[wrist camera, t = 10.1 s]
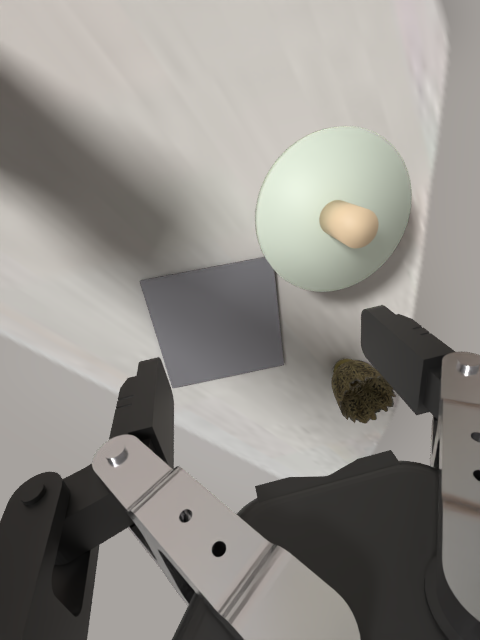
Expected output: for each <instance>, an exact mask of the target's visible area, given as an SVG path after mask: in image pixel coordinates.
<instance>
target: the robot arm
mask: <svg viewBox="0 0 480 640" xmlns="http://www.w3.org/2000/svg"><path fill="white" fill-rule="evenodd" d="M361 347H362V350H363V353H364V355H365V357H366V358H367V359H368V360H369V362H370V363H371V364H372V365H373V366H374V367H375V368H376V369H377V371H378V372H379V373H380V374H381V375H382V376H383V377H384V379H385V380H386V381H387V382H388V383H389V384H390V385H391V387H392V388H393V389H394V390H395V391H396V392H397V393H398V395H399V396H400V397H401V398H402V399H403V400H404V401H405V402H406V404H407V405H408V406H409V407H410V408H411V409H412V411H413V412H415V414H416V415H419V414H423V413H426V412H431V413H432V415H433V420H432V435H431V454H430V466H428V465H424V464H421V463H416V462H410V461H398V460H397V458H396V457H395V455H394V454H393V452H392V451H391V450H390V451H386V452H382V453H379V454H375V455H371V456H367V457H363V458H360V459H357V460H355V461H354V462H352V463H350V464H348V465H347V466H345V467H343V468H341V469H340V470H338V471H336V472H335V473H333V474H331V475H329V476H323V477H288V478H284V479H281V480H277V481H274V482H269V483H266V484H262V485H258V486H255V488H256V492H257V497H258V498H256V499H254V500H253V501H251V502H250V503H248V504H247V505H246V506H244V507H243V508H242V509H241V510H240V511H239V512H238V513H237V514H235V513H234V512H233V511H232V510H231V509H229V508H228V507H227V506H226V505H225V504H224V503H223V502H221V501H220V500H219V499H218V498H217V497H216V496H214V495H213V494H212V493H211V492H210V491H208V490H207V489H206V488H205V487H204V486H203V485H201V484H200V483H199V482H198V481H197V480H195V479H194V478H193V477H192V476H191V475H190V474H189V473H187V472H186V471H185V470H184V469H182V468H181V467H176V468H174V466H173V465H174V400H173V394H172V390H171V387H170V384H169V381H168V378H167V376H166V373H165V370H164V367H163V364H162V361H161V359H160V358H159V357H158V358H154V359H149V360H145V361H141V362H139V365H138V371H137V376H135V377H130V378H128V379H127V380H126V381H125V383H124V384H123V385H122V387H121V388H120V392H119V397H118V401H117V406H116V410H115V415H114V420H113V424H112V428H111V433H110V437H109V440H108V441H107V442H105V443H104V444H103V445H102V446H101V447H100V448H99V449H98V450H97V452H96V453H95V455H94V457H93V460H92V464H90V465H89V466H87V467H86V468H84V469H82V470H80V471H78V472H76V473H74V474H72V475H70V476H68V477H66V478H64V479H62V478H61V476H60V475H59V474H58V473H55V472H45V473H41V474H38V475H36V476H34V477H32V478H31V479H29V480H28V481H26V482H25V483H23V484H22V485H21V486H20V487H19V488H18V489H17V490H16V491H15V492H14V494H13V495H12V497H11V498H10V500H9V502H8V504H7V506H6V509H5V511H4V514H3V516H2V519H1V521H0V640H87V634H88V627H89V619H90V612H91V604H92V596H93V589H94V582H95V574H96V566H97V559H98V551H99V544H101V543H103V542H104V541H106V540H108V539H109V538H111V537H113V536H114V535H116V534H117V533H119V532H121V531H122V530H124V529H126V528H129V530H130V531H131V532H132V533H133V534H134V536H135V537H136V538H137V540H138V541H139V542H140V543H141V545H142V546H143V547H144V548H145V550H146V551H147V552H148V553H149V555H150V556H151V557H152V558H153V560H154V561H155V562H156V564H157V565H158V566H159V567H160V569H161V570H162V571H163V573H164V574H165V576H166V577H167V579H168V580H169V582H170V583H171V585H172V586H173V587H174V589H175V590H176V592H177V593H178V594H179V595H180V597H181V598H182V599H183V601H184V602H185V603H186V604H187V606H188V608H187V610H186V612H185V614H184V616H183V618H182V620H181V622H180V624H179V626H178V628H177V630H176V633H175V635H174V637H173V639H172V640H480V355H478V354H474V353H470V352H455V351H454V350H452V349H451V348H450V347H448V346H447V345H446V344H444V343H443V342H442V341H440V340H439V339H438V338H436V337H435V336H434V335H432V334H430V333H429V332H428V331H427V330H426V329H424V328H422V327H421V325H419V324H418V323H417V322H415V321H414V320H413V319H411V318H408V317H405V316H403V315H400V314H397V315H395V314H394V313H393V312H392V311H390V310H389V309H388V308H387V307H385V306H383V305H381V306H377V307H372V308H368V309H364V310H363V311H362V314H361Z"/></svg>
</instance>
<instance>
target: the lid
mask: <svg viewBox="0 0 480 640" xmlns="http://www.w3.org/2000/svg"><path fill="white" fill-rule="evenodd" d="M410 209H411V183H410V178H409V174H408V171H407V168H406V166H405V163H404V161H403V159H402V158H401V156H400V154H399V153H398V151H397V150H396V149H395V148H394V147H393V145H392V144H390V143H389V142H388V141H387V140H386V139H385V138H383V137H382V136H380V135H378V134H377V133H375V132H372V131H370V130H367V129H364V128H359V127H351V126H341V127H333V128H326V129H323V130H319V131H316V132H313V133H311V134H309V135H307V136H305V137H303V138H301V139H300V140H298V141H296V142H295V143H294V144H293V145H291V146H290V147H289V148H288V149H286V150H285V151H284V153H283V154H282V155H281V156H280V157H279V158H278V159H277V160H276V162H275V163H274V164H273V166H272V167H271V168H270V170H269V172H268V174H267V175H266V177H265V179H264V182H263V184H262V186H261V189H260V192H259V195H258V199H257V204H256V211H255V226H256V234H257V238H258V242H259V245H260V248H261V250H262V252H263V254H264V256H265V258H266V259H267V261H268V262H269V264H270V265H271V266H272V268H273V269H274V270H275V271H276V272H277V273H278V274H279V275H280V276H281V277H282V278H283V279H285V280H286V281H287V282H289V283H291V284H293V285H294V286H297V287H299V288H302V289H306V290H310V291H318V292H328V291H335V290H340V289H344V288H347V287H350V286H352V285H355V284H357V283H359V282H360V281H362V280H364V279H366V278H367V277H369V276H370V275H371V274H373V273H374V272H375V271H376V270H377V269H379V268H380V267H381V266H382V265H383V264H384V263H385V262H386V261H387V259H388V258H389V257H390V256H391V254H392V253H393V252H394V250H395V249H396V247H397V245H398V244H399V242H400V240H401V238H402V236H403V234H404V231H405V229H406V226H407V223H408V219H409V215H410Z"/></svg>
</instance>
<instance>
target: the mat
mask: <svg viewBox="0 0 480 640" xmlns="http://www.w3.org/2000/svg"><path fill="white" fill-rule="evenodd" d="M140 284H141V287H142V291H143V294H144V297H145V300H146V304H147V307H148V310H149V313H150V317H151V320H152V323H153V326H154V329H155V333H156V336H157V339H158V342H159V346H160V349H161V352H162V355H163V359H164V362H165V365H166V368H167V372H168V375H169V378H170V381H171V385H172V388H176V387H181V386H186V385H191V384H196V383H200V382H205V381H210V380H215V379H220V378H224V377H229V376H234V375H239V374H243V373H248V372H253V371H258V370H263V369H267V368H272V367H277V366H282V365H284V359H283V349H282V340H281V330H280V321H279V311H278V302H277V292H276V283H275V273H274V269H273V268H272V266H271V265H270V264H269V262H268V261H267V259H266V258H265V257H262V258H256V259H251V260H246V261H240V262H235V263H230V264H225V265H219V266H214V267H209V268H204V269H198V270H193V271H188V272H182V273H177V274H172V275H167V276H161V277H156V278H151V279H145V280H141V281H140Z"/></svg>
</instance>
